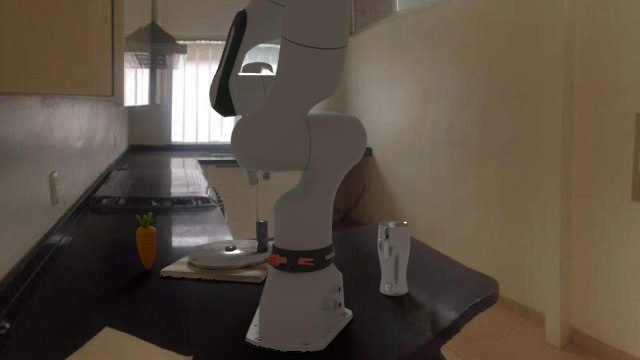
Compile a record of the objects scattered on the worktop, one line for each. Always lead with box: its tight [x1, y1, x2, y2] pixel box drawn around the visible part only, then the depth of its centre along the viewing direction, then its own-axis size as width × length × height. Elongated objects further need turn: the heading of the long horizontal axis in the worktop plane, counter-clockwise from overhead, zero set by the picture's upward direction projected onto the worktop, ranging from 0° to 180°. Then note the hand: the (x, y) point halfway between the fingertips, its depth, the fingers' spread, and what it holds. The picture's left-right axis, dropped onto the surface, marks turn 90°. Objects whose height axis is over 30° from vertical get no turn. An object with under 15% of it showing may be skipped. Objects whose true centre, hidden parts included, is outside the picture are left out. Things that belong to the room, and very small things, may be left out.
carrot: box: [135, 211, 158, 270], centre depth 120 cm, size 5×5×15 cm
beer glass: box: [377, 220, 411, 297], centre depth 102 cm, size 7×7×15 cm
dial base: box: [160, 254, 272, 283], centre depth 126 cm, size 26×26×2 cm
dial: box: [187, 219, 272, 270], centre depth 125 cm, size 22×22×10 cm
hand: (260, 182), depth 121 cm, fingers open, 8 cm apart
